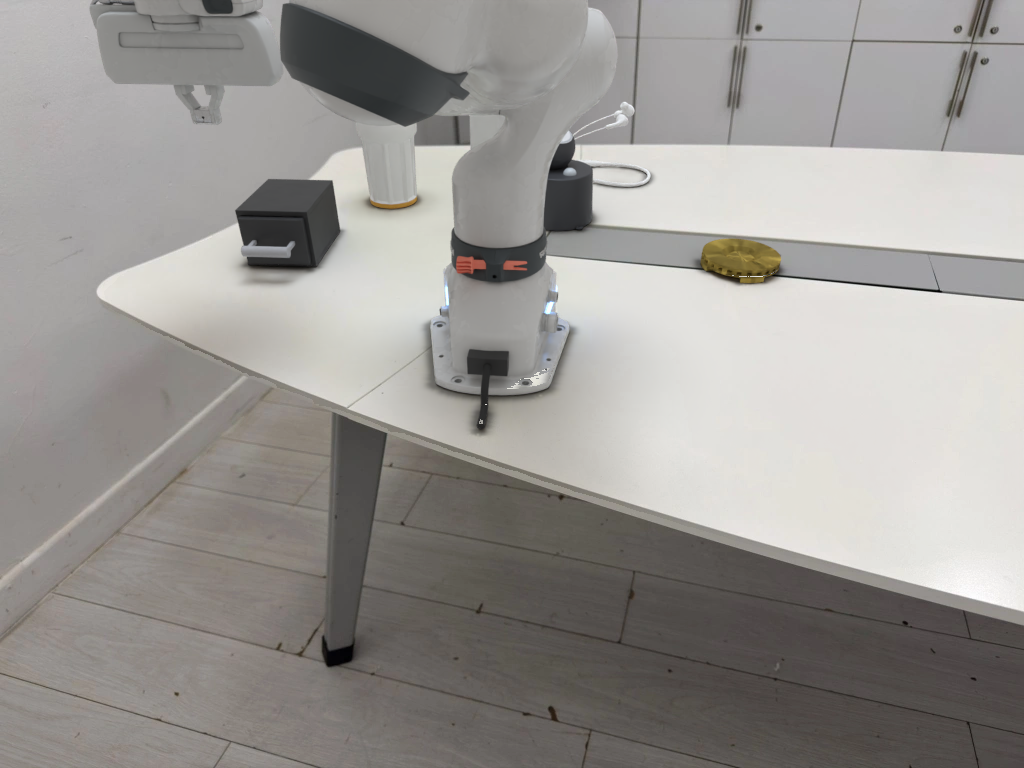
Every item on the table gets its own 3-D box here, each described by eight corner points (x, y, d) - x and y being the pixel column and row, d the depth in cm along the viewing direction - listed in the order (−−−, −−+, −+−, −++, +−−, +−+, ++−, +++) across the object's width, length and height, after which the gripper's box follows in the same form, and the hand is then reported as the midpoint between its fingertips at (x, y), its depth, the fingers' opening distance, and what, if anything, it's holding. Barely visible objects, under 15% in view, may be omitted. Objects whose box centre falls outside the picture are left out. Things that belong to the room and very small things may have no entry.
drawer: (301, 277, 102) (292, 231, 98) (237, 275, 102) (225, 230, 98) (332, 231, 116) (326, 189, 112) (276, 229, 117) (268, 188, 113)
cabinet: (316, 266, 107) (306, 211, 102) (248, 265, 107) (234, 210, 102) (340, 231, 119) (332, 180, 114) (278, 229, 119) (268, 178, 114)
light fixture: (554, 144, 107) (506, 124, 117) (551, 238, 117) (506, 212, 126) (618, 132, 113) (567, 114, 123) (610, 222, 123) (563, 199, 132)
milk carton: (491, 174, 144) (490, 79, 133) (518, 180, 141) (519, 83, 130) (471, 183, 140) (468, 85, 129) (498, 190, 136) (497, 90, 125)
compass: (756, 290, 101) (759, 277, 100) (686, 266, 107) (688, 254, 106) (790, 265, 108) (793, 252, 107) (722, 244, 115) (725, 232, 113)
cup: (358, 194, 134) (346, 102, 124) (413, 187, 137) (405, 97, 127) (372, 214, 125) (360, 117, 115) (430, 206, 129) (423, 110, 119)
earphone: (560, 143, 150) (626, 92, 140) (602, 203, 155) (670, 158, 145) (544, 161, 139) (615, 107, 130) (591, 225, 144) (663, 177, 134)
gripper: (67, -5, 72) (111, 128, 80) (254, -3, 71) (280, 131, 79) (100, -11, 77) (138, 115, 85) (275, -9, 77) (296, 118, 85)
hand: (208, 123), depth 82 cm, fingers closed
